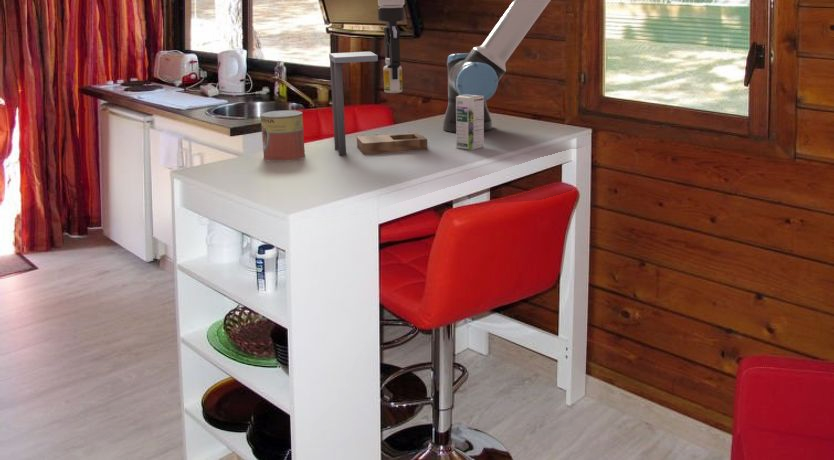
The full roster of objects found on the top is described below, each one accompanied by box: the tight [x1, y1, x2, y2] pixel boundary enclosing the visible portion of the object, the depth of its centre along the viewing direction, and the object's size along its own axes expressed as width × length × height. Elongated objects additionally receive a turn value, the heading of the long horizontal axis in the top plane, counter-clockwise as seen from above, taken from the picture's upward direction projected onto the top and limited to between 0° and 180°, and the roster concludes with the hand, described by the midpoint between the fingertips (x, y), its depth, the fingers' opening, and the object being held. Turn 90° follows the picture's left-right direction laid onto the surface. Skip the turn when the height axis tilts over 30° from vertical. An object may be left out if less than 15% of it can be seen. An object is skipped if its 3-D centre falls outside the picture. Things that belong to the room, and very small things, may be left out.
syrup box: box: [455, 95, 485, 151], centre depth 256 cm, size 6×6×14 cm
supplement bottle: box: [382, 58, 403, 94], centre depth 267 cm, size 5×5×10 cm
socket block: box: [356, 132, 428, 155], centre depth 260 cm, size 18×11×3 cm, turn 102°
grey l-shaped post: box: [328, 51, 379, 157], centre depth 255 cm, size 12×12×26 cm
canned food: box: [260, 109, 306, 163], centre depth 251 cm, size 11×11×12 cm
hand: (393, 89), depth 268 cm, fingers closed on supplement bottle, 5 cm apart
